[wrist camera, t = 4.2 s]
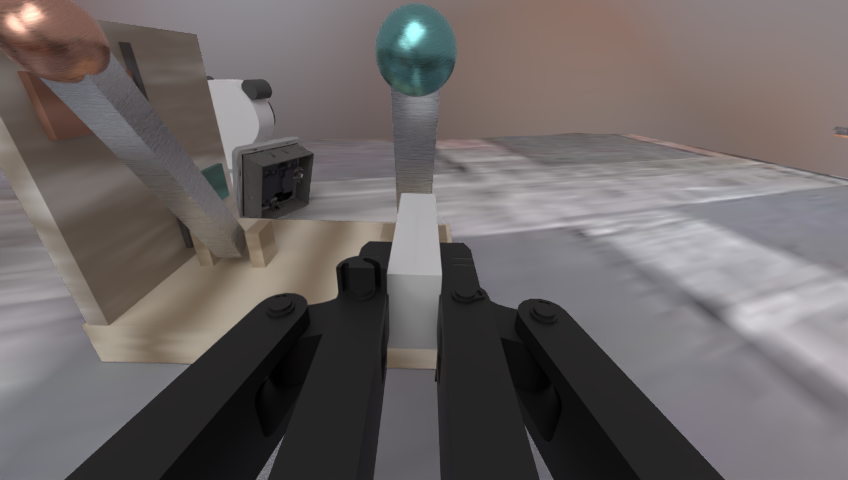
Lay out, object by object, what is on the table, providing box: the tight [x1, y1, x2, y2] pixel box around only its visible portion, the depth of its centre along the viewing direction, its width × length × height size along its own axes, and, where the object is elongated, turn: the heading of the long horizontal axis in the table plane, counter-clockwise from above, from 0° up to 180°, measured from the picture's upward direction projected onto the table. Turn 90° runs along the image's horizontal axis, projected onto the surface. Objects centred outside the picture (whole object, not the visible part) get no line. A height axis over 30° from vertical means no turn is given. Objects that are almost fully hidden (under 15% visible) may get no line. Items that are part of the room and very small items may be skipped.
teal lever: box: [375, 3, 457, 212], centre depth 19 cm, size 3×3×17 cm
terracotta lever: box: [0, 0, 247, 258], centre depth 19 cm, size 3×3×17 cm
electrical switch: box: [232, 136, 314, 219], centre depth 41 cm, size 9×5×9 cm, turn 153°
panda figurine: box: [207, 76, 275, 186], centre depth 52 cm, size 12×11×15 cm
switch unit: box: [0, 20, 452, 369], centre depth 24 cm, size 23×16×19 cm
